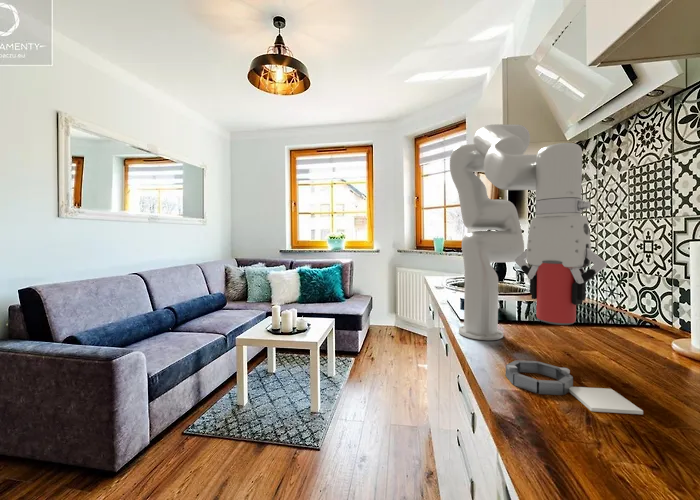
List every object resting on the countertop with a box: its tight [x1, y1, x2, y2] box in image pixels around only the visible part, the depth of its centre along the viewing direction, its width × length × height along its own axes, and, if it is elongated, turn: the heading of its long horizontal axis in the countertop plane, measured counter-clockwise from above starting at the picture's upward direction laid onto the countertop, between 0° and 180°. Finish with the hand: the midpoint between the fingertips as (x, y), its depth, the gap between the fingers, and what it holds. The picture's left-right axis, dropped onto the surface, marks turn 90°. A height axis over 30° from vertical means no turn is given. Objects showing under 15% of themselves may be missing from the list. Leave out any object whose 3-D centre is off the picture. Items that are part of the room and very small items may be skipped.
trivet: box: [568, 386, 644, 415], centre depth 59 cm, size 8×8×1 cm
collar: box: [505, 359, 574, 396], centre depth 67 cm, size 11×12×3 cm
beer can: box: [535, 261, 577, 326], centre depth 63 cm, size 7×7×12 cm
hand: (556, 300), depth 64 cm, fingers closed on beer can, 6 cm apart
